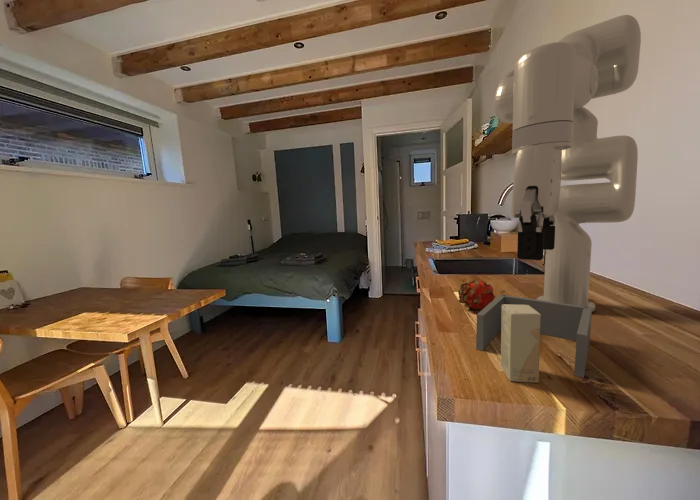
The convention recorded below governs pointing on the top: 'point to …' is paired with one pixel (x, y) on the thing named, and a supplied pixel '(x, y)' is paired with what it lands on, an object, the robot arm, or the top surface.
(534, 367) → the box
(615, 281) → the top surface
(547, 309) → the u-shaped wall
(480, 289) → the dragon fruit
